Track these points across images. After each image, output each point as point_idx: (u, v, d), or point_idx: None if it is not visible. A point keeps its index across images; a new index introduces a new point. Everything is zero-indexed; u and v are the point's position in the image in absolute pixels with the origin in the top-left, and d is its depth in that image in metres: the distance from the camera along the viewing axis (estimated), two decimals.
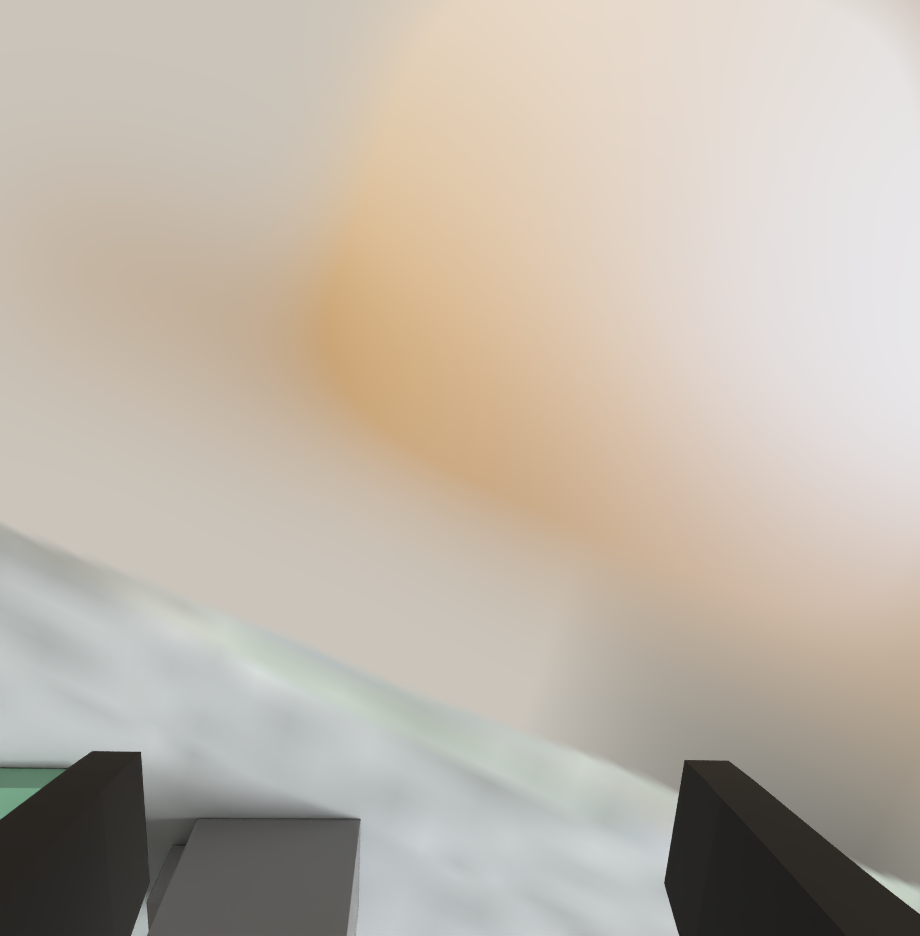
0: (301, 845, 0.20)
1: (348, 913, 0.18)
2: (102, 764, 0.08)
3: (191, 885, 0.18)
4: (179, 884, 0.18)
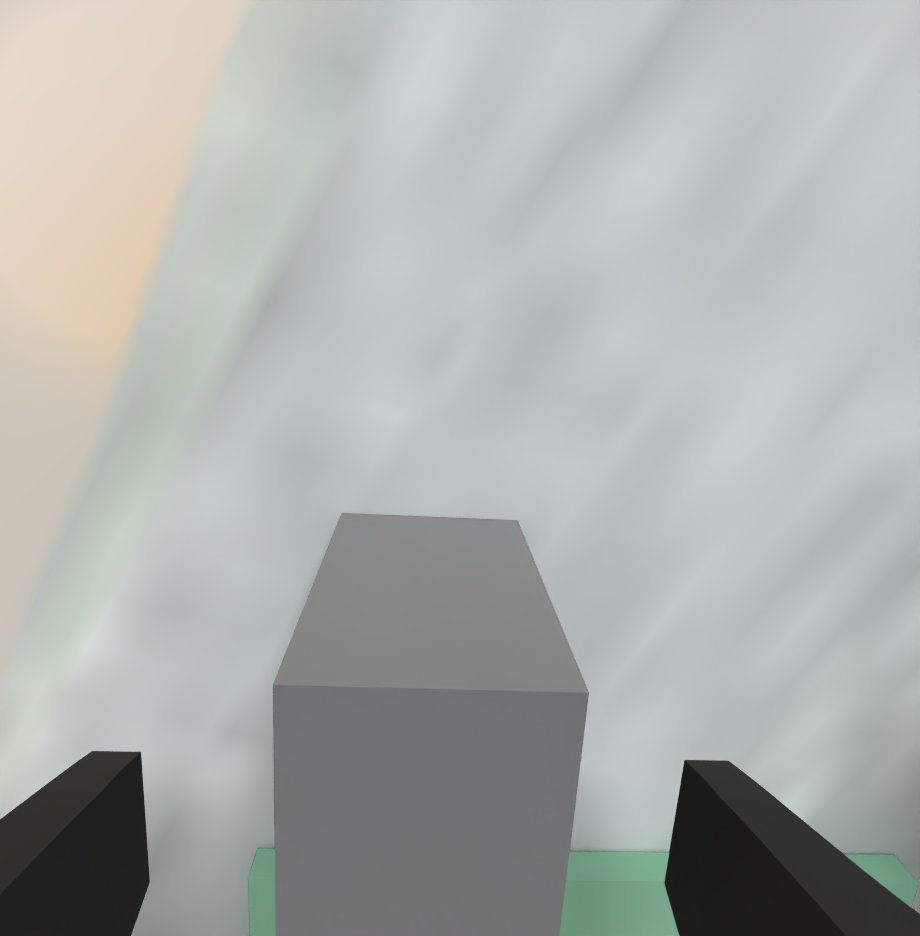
0: None
1: (315, 583, 0.10)
2: (102, 764, 0.08)
3: None
4: None
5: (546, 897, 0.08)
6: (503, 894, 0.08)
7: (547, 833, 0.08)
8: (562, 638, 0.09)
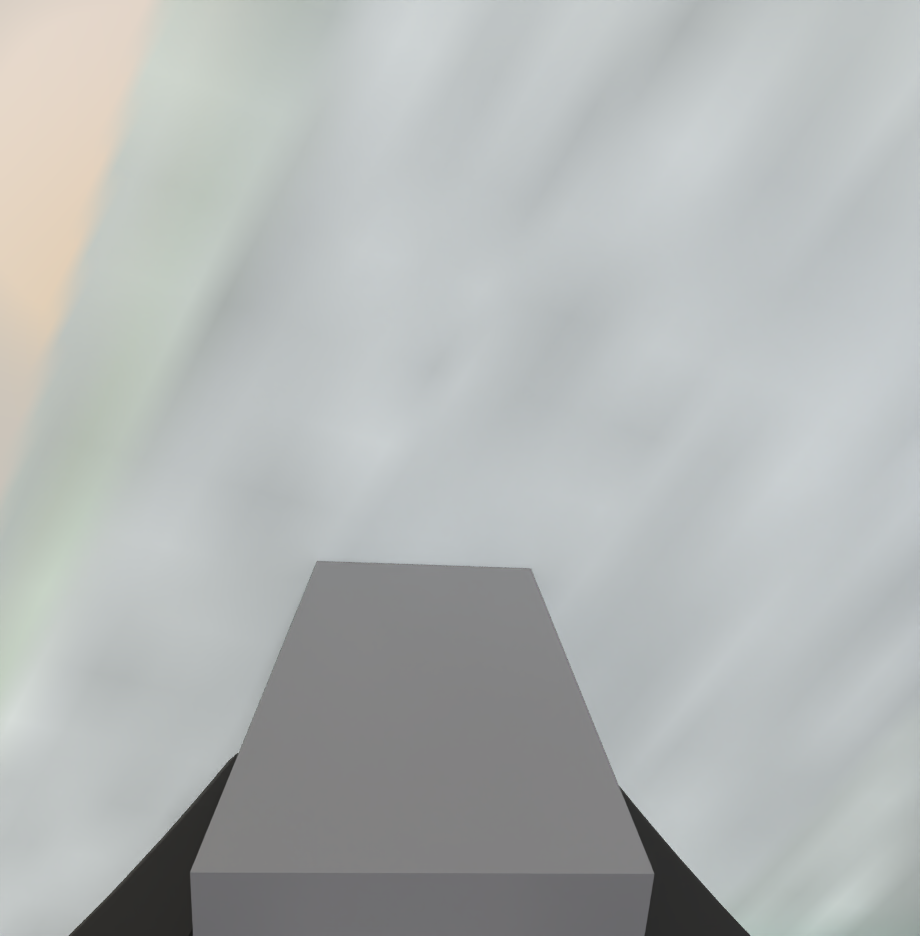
0: None
1: (273, 672, 0.07)
2: None
3: None
4: None
5: None
6: None
7: None
8: (606, 765, 0.06)
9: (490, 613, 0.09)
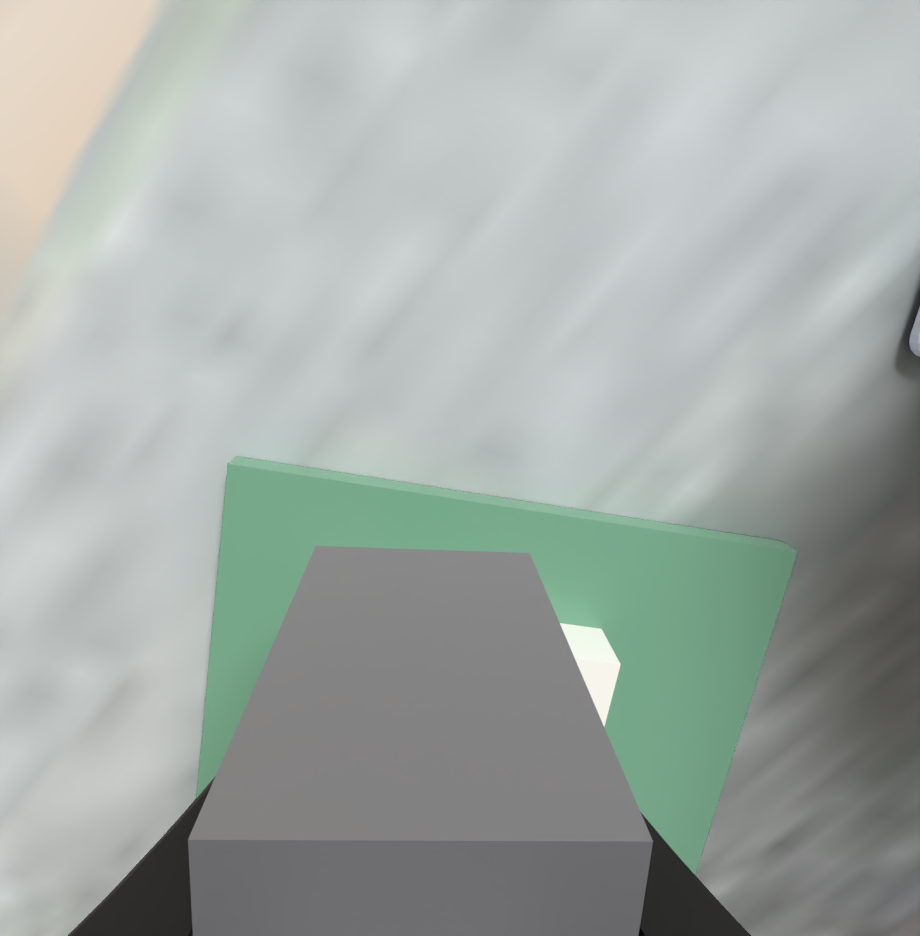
0: None
1: (271, 651, 0.07)
2: None
3: None
4: None
5: None
6: None
7: None
8: (604, 739, 0.06)
9: (489, 595, 0.09)
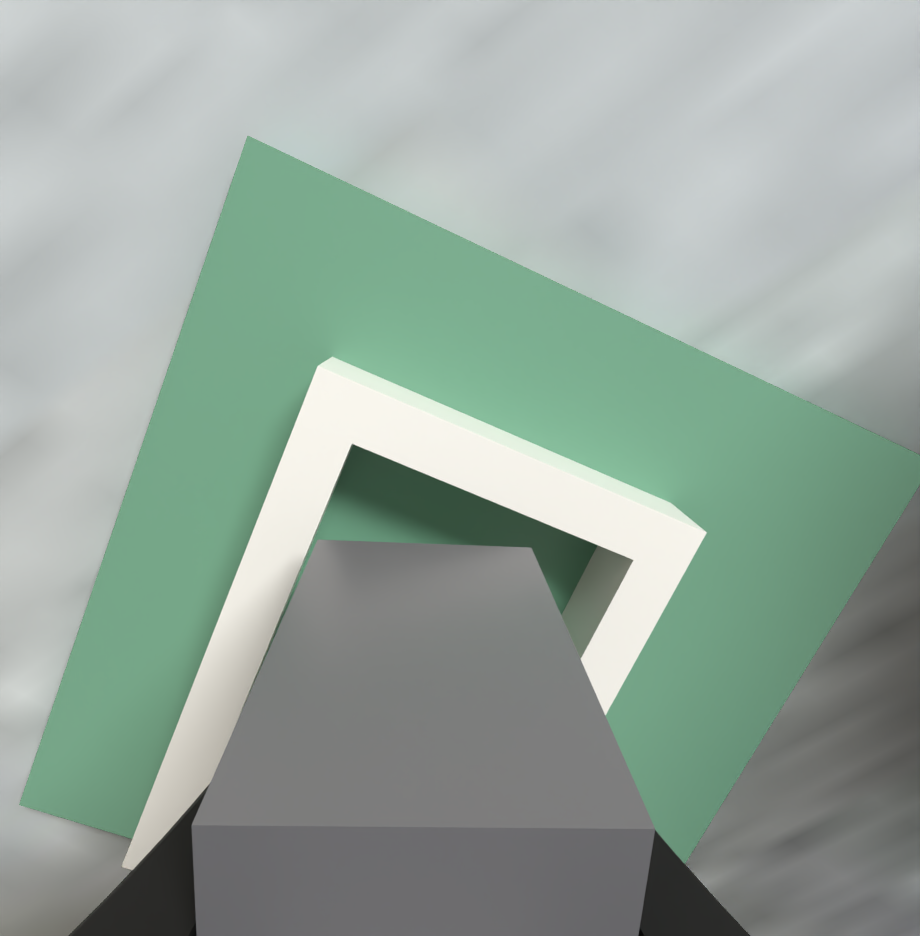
0: None
1: (274, 642, 0.07)
2: None
3: None
4: None
5: None
6: None
7: None
8: (607, 729, 0.06)
9: (491, 588, 0.09)
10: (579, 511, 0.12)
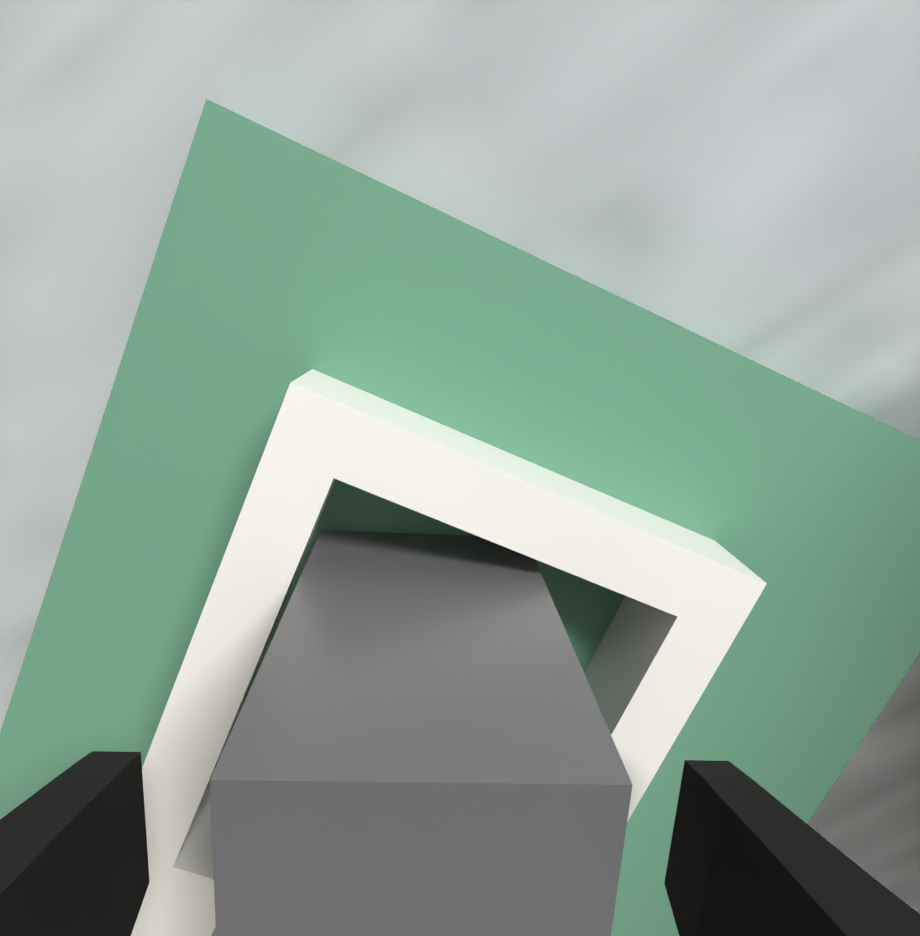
0: None
1: (281, 622, 0.08)
2: (102, 764, 0.08)
3: None
4: None
5: None
6: None
7: None
8: (591, 700, 0.07)
9: (486, 575, 0.10)
10: (612, 559, 0.10)
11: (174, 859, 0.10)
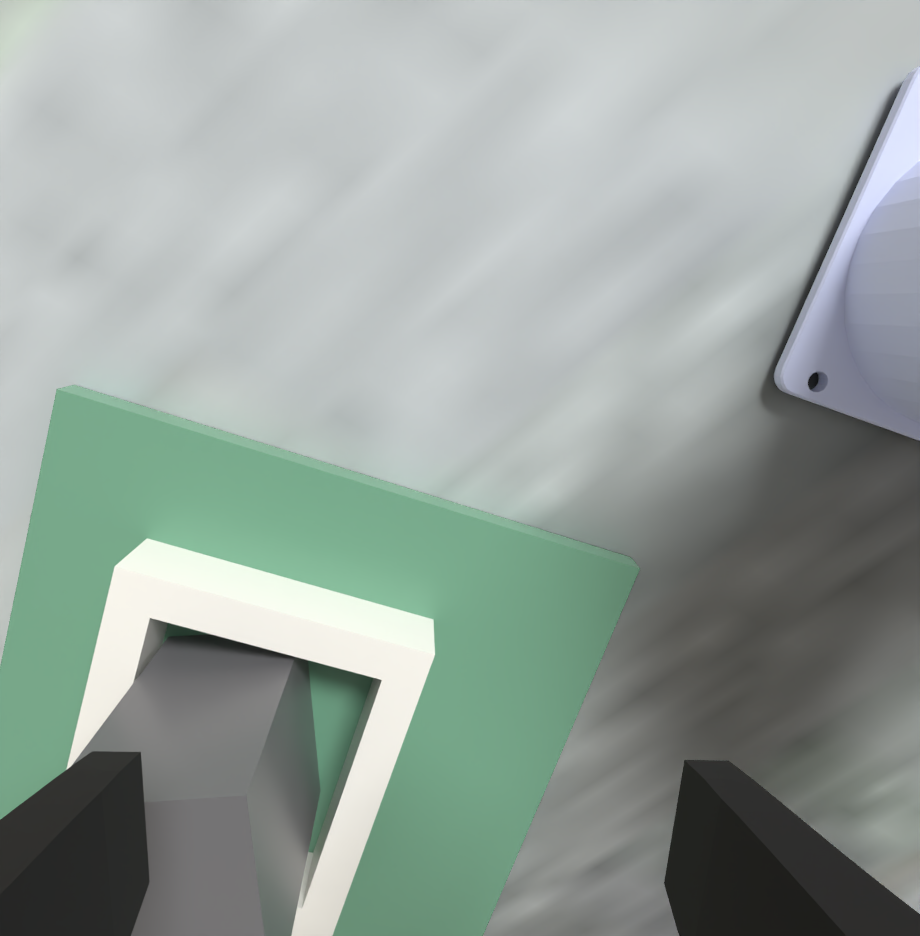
0: None
1: (112, 713, 0.14)
2: (102, 764, 0.08)
3: None
4: None
5: (251, 927, 0.12)
6: (221, 926, 0.12)
7: (241, 885, 0.12)
8: (260, 749, 0.13)
9: (256, 665, 0.16)
10: (332, 649, 0.15)
11: None
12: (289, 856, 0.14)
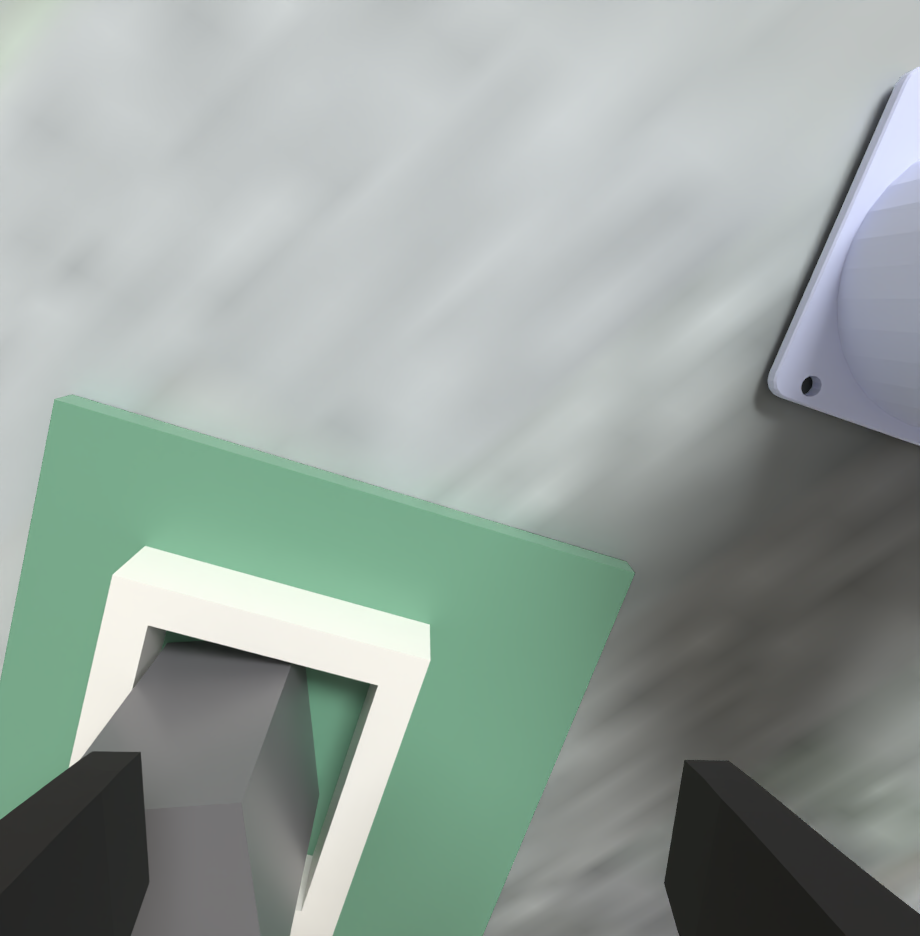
0: None
1: (110, 720, 0.14)
2: (102, 764, 0.08)
3: None
4: None
5: (248, 931, 0.12)
6: (218, 931, 0.12)
7: (238, 891, 0.12)
8: (255, 755, 0.13)
9: (254, 671, 0.16)
10: (329, 655, 0.16)
11: None
12: (286, 860, 0.15)
